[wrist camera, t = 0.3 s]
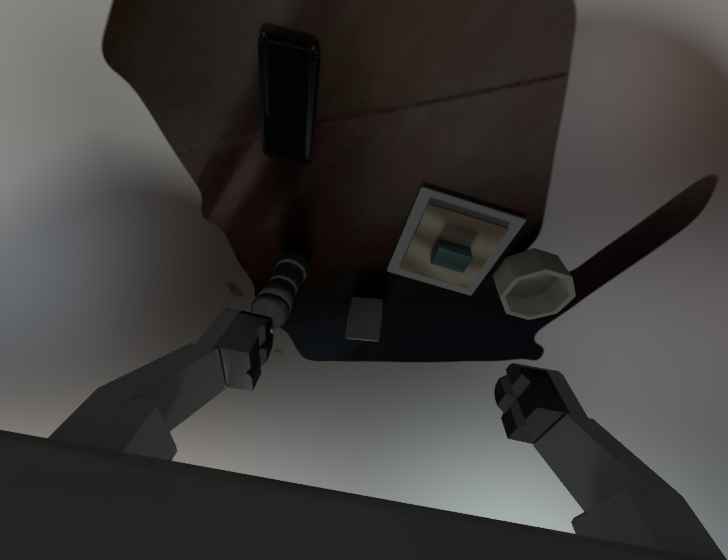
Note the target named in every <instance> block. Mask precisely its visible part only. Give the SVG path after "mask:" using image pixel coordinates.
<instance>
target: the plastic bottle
mask: <svg viewBox="0 0 728 560" xmlns="http://www.w3.org/2000/svg"><path fill="white" fill-rule="evenodd" d="M309 270H310V262H309V260H308V258H307V257H306V255H304V254H303V253H302V252H300V251H296V250H291V251H287V252H285V253H284V254H282V255H281V256H280V258H279V259H278V262H277V264H276V268H275V271H274V273H273V275H272V277H271V279H270V280H269V282H268V283H267V285H266V286H265V288H264V289H263V290H262V291H261V292H260V293H259V294H258V295H257V297H256V298H255V299H254V301H253V302H252V305H251V313H255V314H259V315H264V316H269V317H271V318H272V319H273V326H272V328H271V330H270V332H271V333H273V329H275V328H278V327H280V326H281V325H283V324H284V323H285V322H286V321H287V320H288V317H289V315H290V311H291V307H292V303H293V300H294V297H295V295H296V292H297V290H298V288H299V287H300V285H301V283H302V282H303V281H304V280H305V278H306V277H307V276H308V274H309Z"/></svg>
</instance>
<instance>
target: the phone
mask: <svg viewBox="0 0 728 560" xmlns="http://www.w3.org/2000/svg"><path fill="white" fill-rule="evenodd" d="M258 57H259V85H260V114H261V143H262V151H263V153H264V154H265V155H266V156H268V157H272V158H276V159H279V160H283V161H287V162H291V163H295V164H299V165H303V166H306V165H308V164H310V162H311V161H312V155H313V142H314V130H315V117H316V105H317V92H318V80H319V67H320V53H319V50H318V48H317V47H316V46H315V45H313V44H310V43H306V42H303V41H299V40H295V39H292V38H288V37H284V36H281V35H277V34H273V33H270V32H263V33H261V34H260V35H259V38H258Z"/></svg>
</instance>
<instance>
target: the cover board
mask: <svg viewBox="0 0 728 560" xmlns="http://www.w3.org/2000/svg"><path fill="white" fill-rule="evenodd" d="M508 230H509V228H508V227H507V226H503V225H500V224H497V223H494V222H490V221H487V220H484V219H481V218H478V217H474V216H471V215H468V214H465V213H462V212H458V211H455V210H452V209H449V208H446V207H442V206H439V205H436V204H433V203H430V202H428V204H427V206H426V209H425V211H424V213H423V215H422V217H421V220H420V222H419V224H418V226H417V229H416V231H415V233H414V235H413V237H412V240H411V242H410V244H409V246H408V249H407V251H406V253H405V255H404V258H403V260H402V262H401V264H400V267H399V269H401V270H405V271H408V272H412V273H415V274H418V275H422V276H425V277H429V278H432V279H436V280H439V281H442V282H446V283H449V284H453V285H456V286H460V287H463V288H466V289H467V288H468V287H469V285H470V284H471V282H472V281H473V280H474V278H475V277H476V275H477V274H478V273H479V271H480V270H481V268H482V267H483V266H484V264H485V263H486V261H487V260H488V258H489V257H490V256H491V254H492V253H493V251H494V250H495V249H496V247H497V246H498V244H499V243H500V241H501V240H502V239H503V237H504V236H505V234H506V233H507V232H508Z"/></svg>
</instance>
